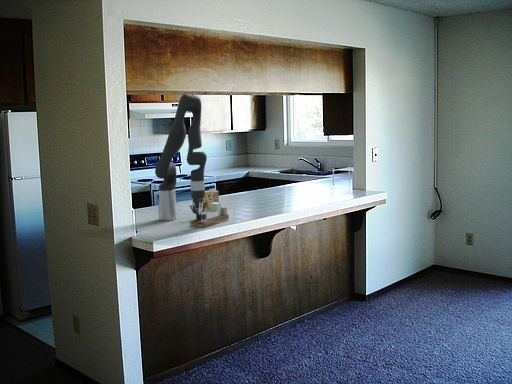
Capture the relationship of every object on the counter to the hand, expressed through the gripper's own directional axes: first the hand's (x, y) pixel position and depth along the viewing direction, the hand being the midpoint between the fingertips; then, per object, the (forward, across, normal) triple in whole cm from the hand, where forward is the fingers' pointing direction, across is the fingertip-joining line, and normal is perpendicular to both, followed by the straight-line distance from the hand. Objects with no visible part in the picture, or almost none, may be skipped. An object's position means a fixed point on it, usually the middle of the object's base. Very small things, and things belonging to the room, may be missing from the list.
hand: (198, 220), depth 327 cm
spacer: (+2, +17, 0) cm, 17 cm away
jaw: (+1, +8, 0) cm, 9 cm away
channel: (+3, +11, 0) cm, 11 cm away
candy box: (+3, +26, +10) cm, 28 cm away
